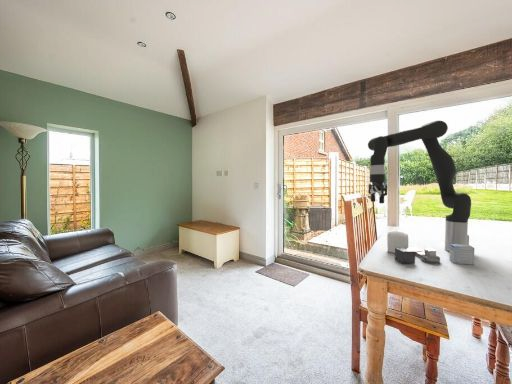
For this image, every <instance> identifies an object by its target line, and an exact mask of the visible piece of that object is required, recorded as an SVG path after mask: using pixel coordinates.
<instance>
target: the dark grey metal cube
mask: <svg viewBox="0 0 512 384" xmlns="http://www.w3.org/2000/svg"><path fill="white" fill-rule="evenodd" d="M409 248H410V247H408V248H407V247H399V248H395V253H394V261H396V262H399V263H400V264H402V265H416V256H415V251H414V250H411V249H409Z"/></svg>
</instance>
